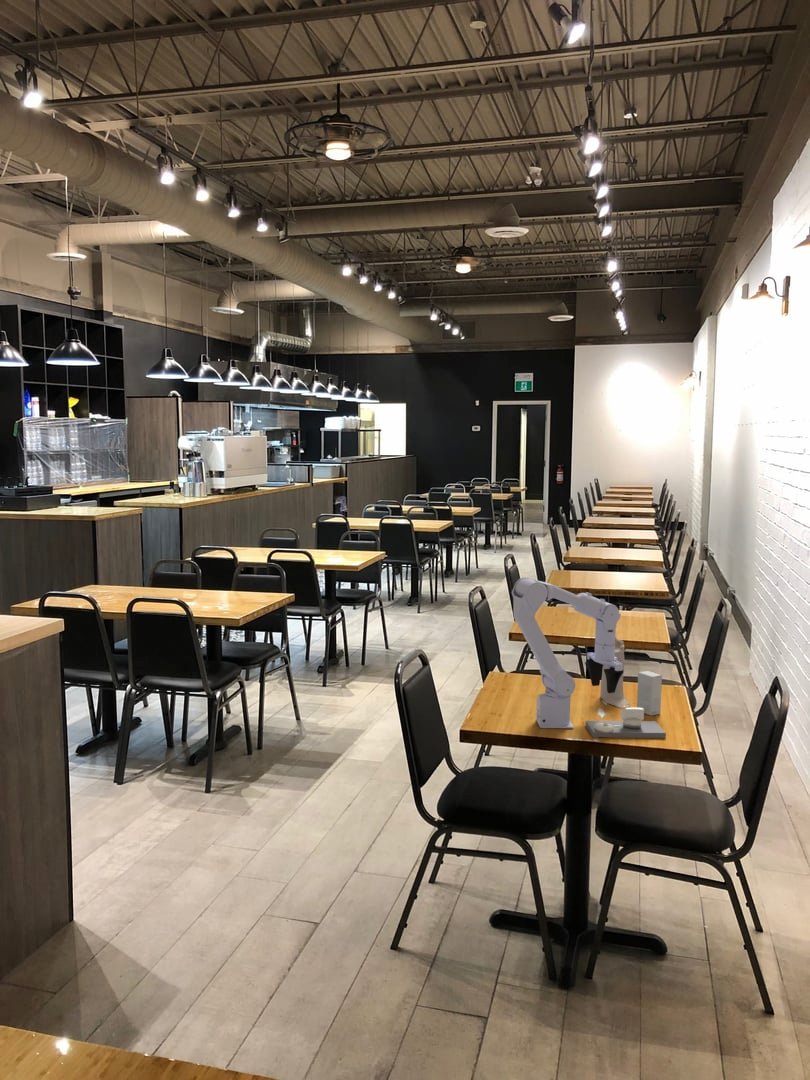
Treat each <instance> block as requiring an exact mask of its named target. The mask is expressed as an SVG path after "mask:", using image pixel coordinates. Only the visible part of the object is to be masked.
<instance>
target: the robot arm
mask: <svg viewBox="0 0 810 1080" xmlns="http://www.w3.org/2000/svg"><path fill="white" fill-rule="evenodd" d="M511 595H512V598H513V600H512V602H513V606H512V607H513V609H512V610H513V612H512V613H513V619H514V620H515V622H516V624H517V625H518V628H519V630H520V631H521V633H522V635H523V637H524V639H525V641H526V643H527V645H528V647H529V649H530V650H531V652H532V653H533V656H534V658H535V660H536V661H537V663H538V665H539V667H540V669H539V673H540V675H541V682H542V683H541V684H543V686H544V687H545V689H544V691H545V693H539V694H537V697H536V716H535V717H536V718H535V721H536V723H537V725H538V726H539V728H540V729H574V725H573V723H572V722H571V701H572V700H571V697H572V694H573V693H574V691H575V690H576V680H575V679H574V678H573V677H572V676H571V675H570V674H568V672H567V670H566V669H565V668H564V667H563V666H562V665H561V664H560V662H559V661H558V659H557V658H556V655H555V653H554V652H553V650H552V648H551V646H550V644H549V642H548V639H546V637H545V635H544V633H543V631H542V629H541V627H540V625H539V623H538V621H537V619H536V618H535V615H536V614H537V612H538V611H539V609H540V608H541V606H542V605H543V604H544V602H545V601H550V600H552V599H556V600H558V601H561V602H564V603H567V604H569V605H571V606H572V607H573V609H574V611H575V612H577V613H579V614H582V615H585V616H587V617H589V618H591V619H595V631H594V632H595V633H594V634H595V636H594V637H595V638H594V652H587V653H586V659H587V660H588V661H585V662H584V665H585V666H586V669H587V671H588V675H589V679H590V682H591V687H592V686H593V687H597V686H600V685H601V678H602V670H603V665H605V666H608V667H610V669H604V672H605V675H606V680H607V692H608V693H615V690H616V687H617V683H618V681H619V679H620V677H621V675H622V674H623V675H624V673H625V672H624V671H625V670H623V669H622V666H623V664H621V663H620V662H618V661H617V657H615V637H616V632H617V624H618V622H619V620H620V618H621V615H622V614H621V613H620V610H619V608H618V607H617V606H616V605H615V604H613V603H609V602H608V601H606V600H605V598H600V599H599V598H597V597H595V596H593V594H592V593H590V592H588V591H586V592H580V593H578V594H575V593H572V592H571V591H568V590H566V589H564V588H561V587H559V586H557V585H555V584H552V583H550V582H545V581H541V580H537V579H531V578H529V577H520V578H519V579H517V581H516V582H515V583H514V586H513V588H512V590H511Z"/></svg>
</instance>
